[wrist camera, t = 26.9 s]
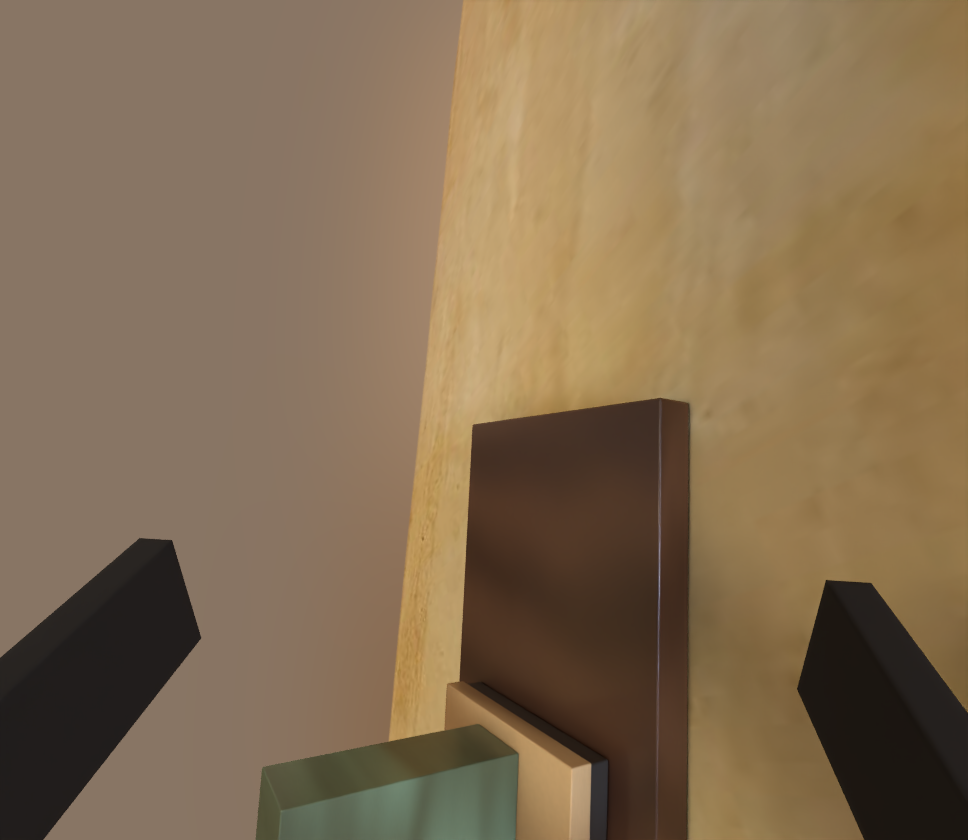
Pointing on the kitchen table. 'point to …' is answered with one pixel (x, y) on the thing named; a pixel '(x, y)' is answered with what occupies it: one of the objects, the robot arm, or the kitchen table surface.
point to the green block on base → (445, 782)
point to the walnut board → (589, 591)
